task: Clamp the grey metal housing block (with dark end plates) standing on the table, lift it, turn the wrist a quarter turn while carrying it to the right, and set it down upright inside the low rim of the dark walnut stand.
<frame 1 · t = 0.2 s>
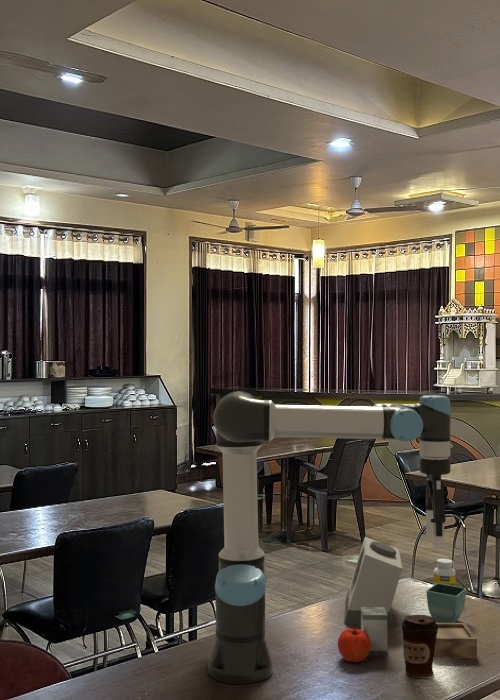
hand: (434, 542, 197), 27 cm above the table, fingers open, 13 cm apart
pill bottle: (444, 599, 237), on the table
flower pot: (446, 622, 218), on the table
walnut stand: (448, 649, 198), on the table
housing: (373, 650, 197), on the table
coffee cup: (419, 674, 183), on the table
alarm clock: (372, 613, 225), on the table
apple: (354, 660, 192), on the table
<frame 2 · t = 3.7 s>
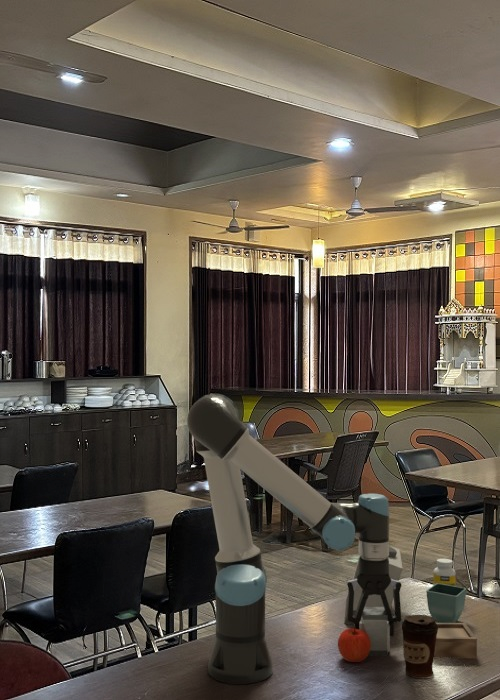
hand: (373, 648, 197), 0 cm above the table, fingers closed on housing, 6 cm apart
housing: (373, 650, 197), on the table, touching gripper
everything else where it was.
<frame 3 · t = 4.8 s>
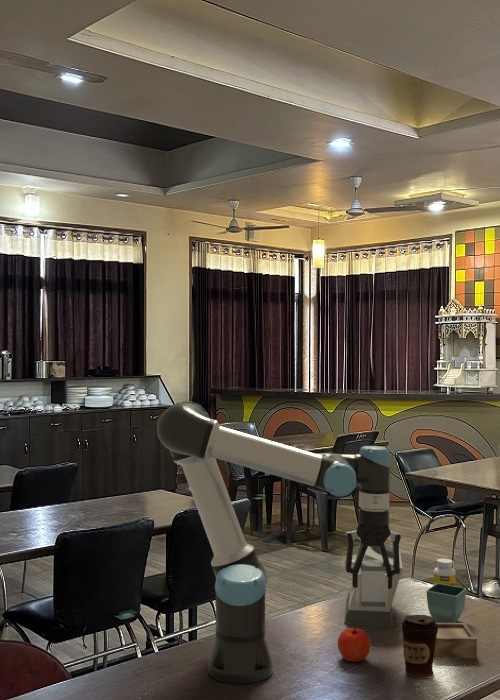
hand: (371, 600, 197), 13 cm above the table, fingers closed on housing, 6 cm apart
housing: (371, 602, 197), point 12 cm above the table, touching gripper
everything else where it was.
when the fingers open (6 cm above the table, at t = 9.0 s): housing drops 1 cm, resting on walnut stand.
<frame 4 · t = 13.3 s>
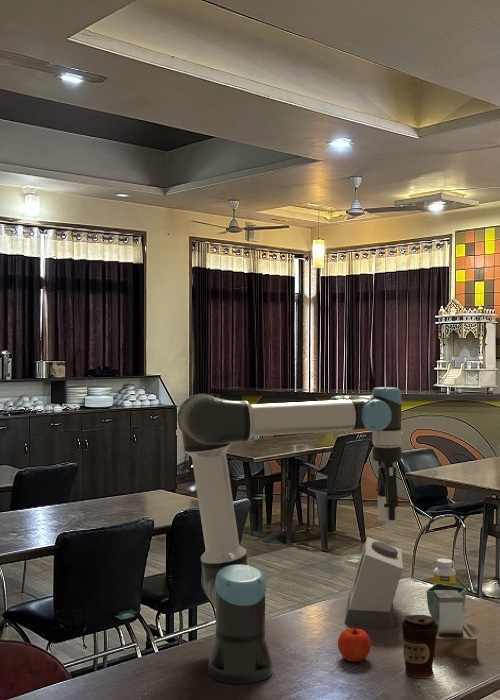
hand: (386, 526, 208), 29 cm above the table, fingers open, 13 cm apart
housing: (448, 633, 198), point 4 cm above the table, touching walnut stand
everything else where it was.
at the end: housing inside the target area on the walnut stand (0.2 cm from its centre), point 4.0 cm above the walnut stand's base; housing tilted 0°; the gripper is holding nothing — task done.
